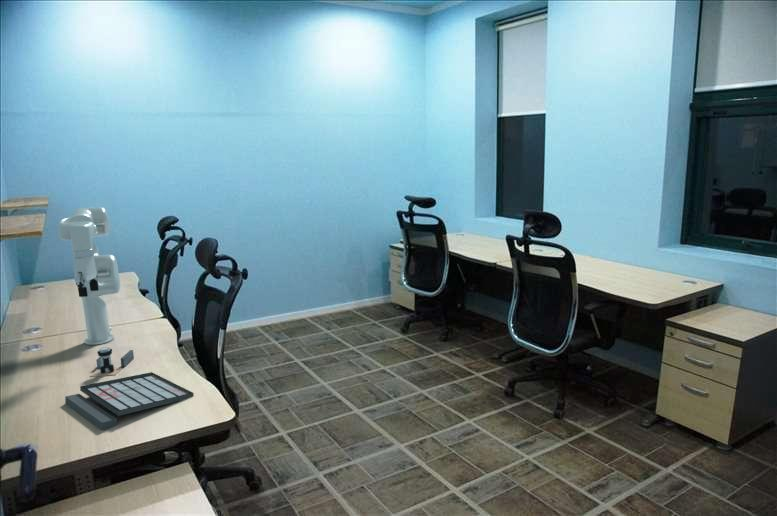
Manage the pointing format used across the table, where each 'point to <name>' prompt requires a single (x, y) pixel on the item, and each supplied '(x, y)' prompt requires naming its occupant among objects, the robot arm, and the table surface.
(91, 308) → the robot arm
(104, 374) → the mat
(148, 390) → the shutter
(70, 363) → the table surface
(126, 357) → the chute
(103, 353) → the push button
